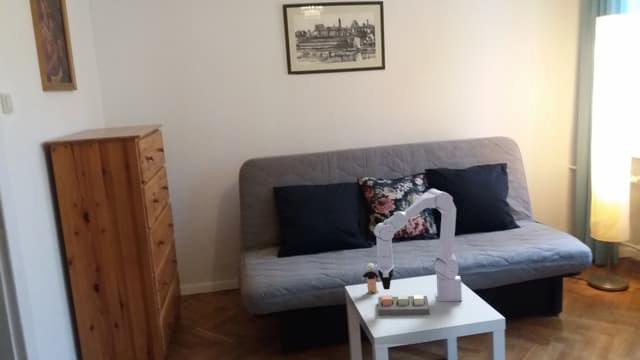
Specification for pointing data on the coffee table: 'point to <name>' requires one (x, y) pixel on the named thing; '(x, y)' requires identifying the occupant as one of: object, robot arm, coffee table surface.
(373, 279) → the grandmother figurine
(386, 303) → the terracotta key
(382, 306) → the grey slotted board
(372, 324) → the coffee table surface
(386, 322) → the coffee table surface
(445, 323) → the coffee table surface
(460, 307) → the coffee table surface
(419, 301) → the ivory key
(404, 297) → the sage key
